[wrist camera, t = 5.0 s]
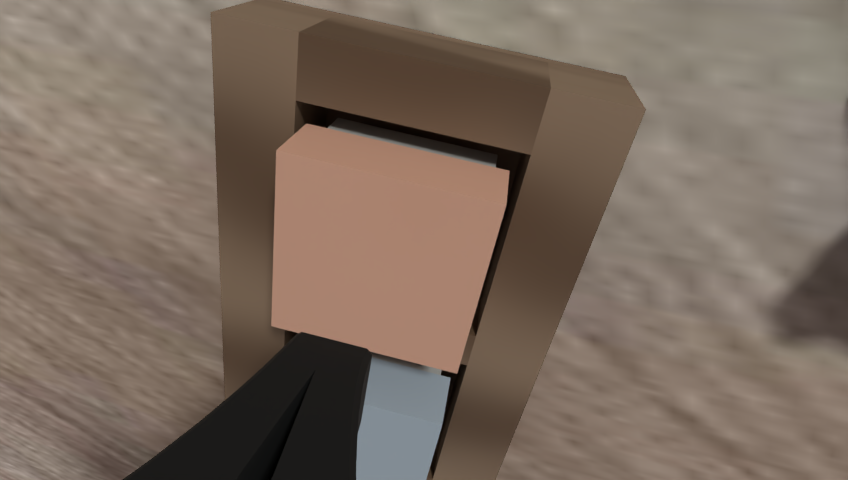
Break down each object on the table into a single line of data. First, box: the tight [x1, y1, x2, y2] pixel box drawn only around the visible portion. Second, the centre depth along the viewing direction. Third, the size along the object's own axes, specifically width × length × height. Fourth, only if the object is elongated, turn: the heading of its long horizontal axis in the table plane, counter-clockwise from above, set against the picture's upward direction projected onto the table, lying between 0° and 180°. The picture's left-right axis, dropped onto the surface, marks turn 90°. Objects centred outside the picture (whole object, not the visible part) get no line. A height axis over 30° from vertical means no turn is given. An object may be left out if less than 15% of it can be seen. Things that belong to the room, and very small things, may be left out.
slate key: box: [356, 351, 451, 480], centre depth 18 cm, size 5×5×3 cm
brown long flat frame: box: [211, 0, 646, 480], centre depth 19 cm, size 23×10×3 cm, turn 170°
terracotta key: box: [271, 118, 509, 374], centre depth 14 cm, size 5×5×3 cm
